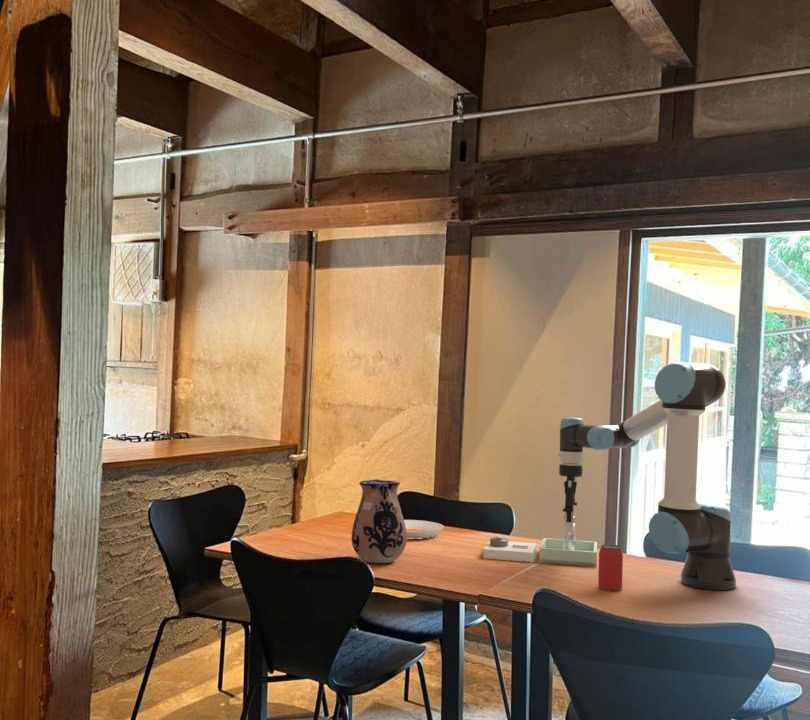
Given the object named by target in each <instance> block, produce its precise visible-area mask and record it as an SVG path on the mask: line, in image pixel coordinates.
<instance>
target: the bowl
mask: <svg viewBox="0 0 810 720" xmlns="http://www.w3.org/2000/svg"><path fill="white" fill-rule="evenodd" d="M404 522H405V526H406V529H417V530H426V531H428V532H407V538H414V539H417V538H428V537H432V536H434V537H436V536H437V534H439V532H441V530H443V529H444V525H443V524H441V523H439V522H435V521H434V522H433V521H429V520H428V521H427V520H421V519H419V520H417V519H404ZM432 538H433V537H432Z"/></svg>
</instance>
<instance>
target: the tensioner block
mask: <svg viewBox="0 0 810 720" xmlns="http://www.w3.org/2000/svg"><path fill="white" fill-rule="evenodd" d="M537 553H538V543H535V542H521V541H511V540H510V541H509V539H508V538H505V537H503V536H501V535H500V536H498V535H497V536H495V537H490V538H489V541H488V542H487V543H486V545H485V547H484V548H483V554H482V555H483V559H488V560H499V561H500V560H502V561H511V560H512V561H513V562H515V561H516V562H523V561H525V562H526V563H533V562H534V560H535V557H536V555H537Z"/></svg>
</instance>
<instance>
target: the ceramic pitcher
mask: <svg viewBox="0 0 810 720" xmlns="http://www.w3.org/2000/svg"><path fill="white" fill-rule="evenodd" d="M358 484H359V485H360V486H361V489H362V495H361V499H360V501H359V505H358V509H357V511H356V514H355V518H354V521H353V524H352V529H351V543H352V547H353V550H354V552H355V553H356V554H357V556H358V557H360V559H361V560H362V561H364V560H365V561H364V562H366V563H370V564H391V563H393V562H395V561H396V560H398V558H399V557H401V555H402V554H403V552H404V551H405V549H406V546H407V541H408V539H407V532H406V526H405V522H404V520H405V519H404V516H403V513H402V508H401V505H400V502H399V498H398V487H399V485H400V484H401V483H400V481H395V480H385V479H383V480H382V479H378V478H375V479H368V480H367V479H366V480H362V481H359V483H358Z"/></svg>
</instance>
